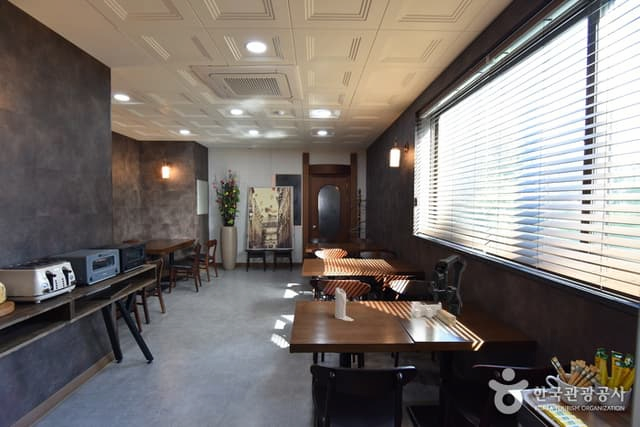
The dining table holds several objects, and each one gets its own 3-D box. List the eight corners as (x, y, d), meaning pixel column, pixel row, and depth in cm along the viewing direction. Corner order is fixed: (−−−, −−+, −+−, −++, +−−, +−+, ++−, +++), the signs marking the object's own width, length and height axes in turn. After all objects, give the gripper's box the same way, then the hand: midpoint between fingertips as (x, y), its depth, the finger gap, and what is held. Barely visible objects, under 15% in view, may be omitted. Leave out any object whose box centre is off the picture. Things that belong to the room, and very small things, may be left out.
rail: (442, 317, 221) (442, 309, 220) (455, 325, 205) (455, 317, 205) (436, 317, 220) (436, 309, 220) (449, 325, 204) (449, 317, 204)
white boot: (350, 322, 207) (351, 291, 207) (332, 317, 215) (333, 287, 215) (356, 319, 213) (356, 289, 212) (338, 314, 221) (339, 285, 221)
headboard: (440, 314, 227) (440, 302, 227) (444, 316, 221) (444, 304, 221) (412, 315, 223) (412, 303, 223) (416, 318, 217) (416, 305, 217)
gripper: (446, 276, 223) (446, 298, 224) (423, 277, 218) (422, 300, 219) (457, 279, 213) (457, 302, 213) (433, 281, 208) (432, 305, 208)
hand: (442, 302), depth 214 cm, fingers open, 9 cm apart
